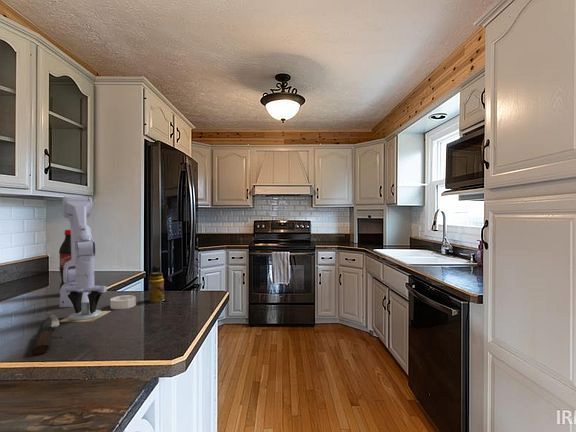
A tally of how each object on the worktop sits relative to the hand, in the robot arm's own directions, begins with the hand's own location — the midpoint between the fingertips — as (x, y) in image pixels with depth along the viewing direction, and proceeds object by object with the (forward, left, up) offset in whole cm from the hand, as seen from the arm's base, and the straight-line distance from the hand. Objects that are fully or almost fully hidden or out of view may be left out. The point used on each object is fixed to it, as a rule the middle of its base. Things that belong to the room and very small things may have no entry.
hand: (85, 312), depth 119 cm
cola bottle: (-29, +35, -2) cm, 45 cm away
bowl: (+7, +13, -2) cm, 15 cm away
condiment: (+16, +21, -2) cm, 26 cm away
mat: (0, 0, -2) cm, 2 cm away
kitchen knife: (-1, -16, -2) cm, 16 cm away
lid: (0, 0, -1) cm, 1 cm away
